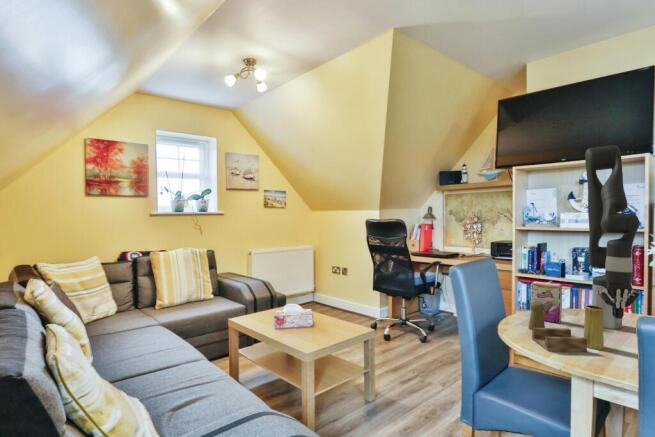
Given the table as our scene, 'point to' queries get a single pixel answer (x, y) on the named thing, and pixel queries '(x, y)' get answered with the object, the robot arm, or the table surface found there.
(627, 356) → the table surface
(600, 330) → the vase
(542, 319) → the cork
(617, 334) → the table surface
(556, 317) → the candy bar box
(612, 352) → the table surface
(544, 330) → the u rest
